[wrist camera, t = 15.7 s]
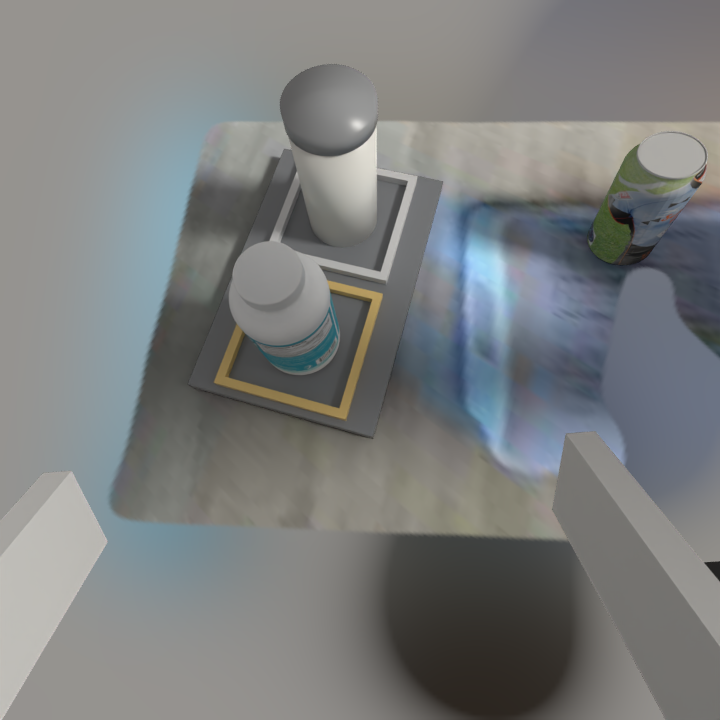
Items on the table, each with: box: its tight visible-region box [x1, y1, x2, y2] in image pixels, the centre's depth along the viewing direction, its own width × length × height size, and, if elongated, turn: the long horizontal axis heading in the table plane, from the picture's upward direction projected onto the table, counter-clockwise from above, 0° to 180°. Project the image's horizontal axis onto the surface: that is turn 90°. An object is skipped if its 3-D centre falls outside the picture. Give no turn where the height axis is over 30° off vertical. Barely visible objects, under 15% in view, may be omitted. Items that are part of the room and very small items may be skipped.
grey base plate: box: [188, 149, 443, 439], centre depth 43 cm, size 18×28×2 cm, turn 164°
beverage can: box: [587, 131, 708, 265], centre depth 39 cm, size 6×7×12 cm
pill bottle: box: [229, 241, 340, 375], centre depth 35 cm, size 8×7×14 cm
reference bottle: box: [280, 64, 378, 247], centre depth 38 cm, size 7×7×14 cm
